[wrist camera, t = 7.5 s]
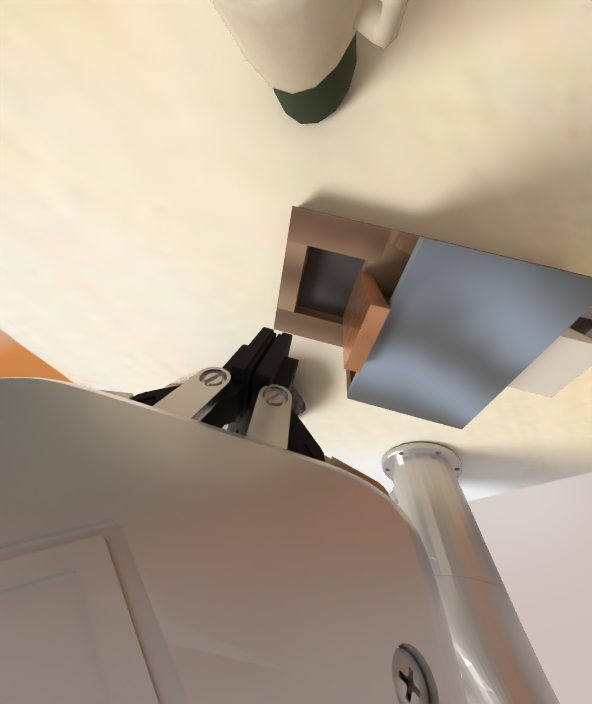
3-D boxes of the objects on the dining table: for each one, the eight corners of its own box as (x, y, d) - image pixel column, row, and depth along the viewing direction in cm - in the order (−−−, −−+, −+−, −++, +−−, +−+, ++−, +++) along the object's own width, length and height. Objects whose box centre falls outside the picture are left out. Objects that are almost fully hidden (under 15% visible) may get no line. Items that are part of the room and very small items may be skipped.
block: (505, 357, 23) (551, 397, 18) (458, 345, 23) (491, 382, 18) (544, 315, 20) (612, 349, 15) (491, 302, 20) (541, 331, 15)
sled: (518, 378, 23) (607, 459, 16) (337, 331, 24) (336, 386, 16) (594, 306, 19) (779, 371, 11) (366, 250, 19) (383, 273, 12)
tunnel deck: (475, 371, 27) (544, 452, 18) (278, 320, 28) (248, 371, 19) (565, 270, 20) (757, 317, 11) (297, 206, 21) (263, 199, 12)
